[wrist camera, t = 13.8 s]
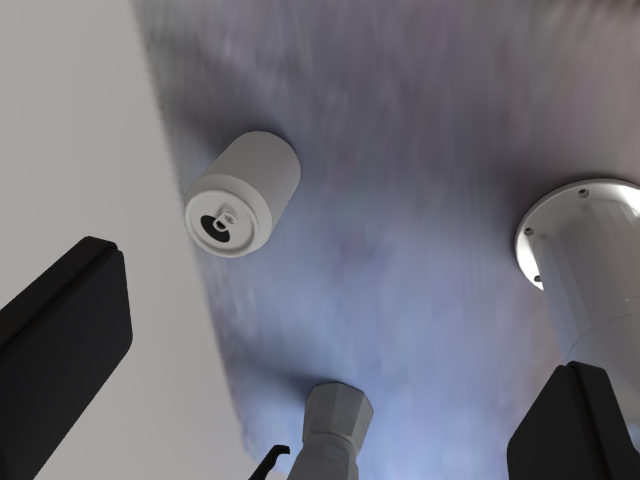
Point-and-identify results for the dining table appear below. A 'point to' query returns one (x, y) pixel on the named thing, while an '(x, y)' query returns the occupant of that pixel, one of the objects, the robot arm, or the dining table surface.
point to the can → (242, 195)
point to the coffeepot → (327, 435)
